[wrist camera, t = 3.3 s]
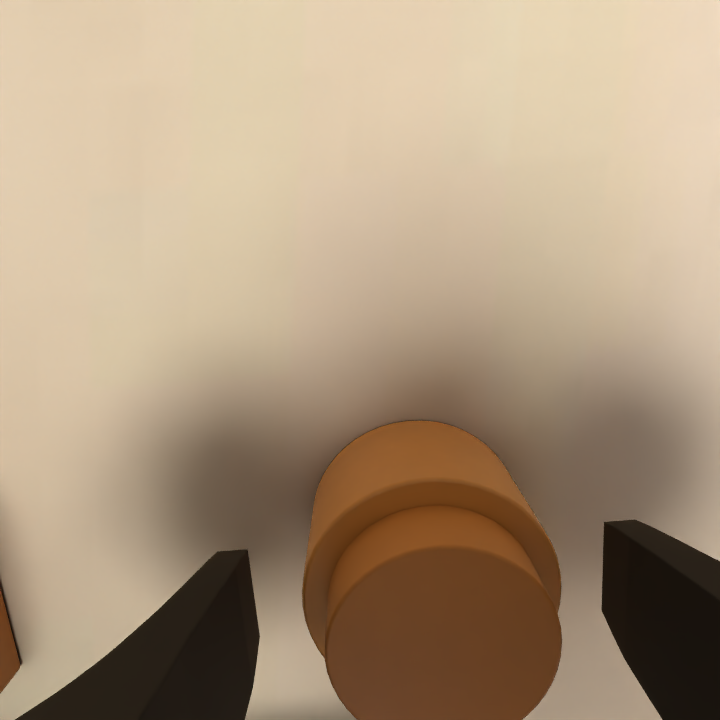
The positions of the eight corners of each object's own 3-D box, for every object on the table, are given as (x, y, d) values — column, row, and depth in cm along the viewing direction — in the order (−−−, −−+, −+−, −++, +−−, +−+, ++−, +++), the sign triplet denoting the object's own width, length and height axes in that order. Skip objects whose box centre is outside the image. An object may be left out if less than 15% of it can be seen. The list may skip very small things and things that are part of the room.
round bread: (514, 411, 13) (596, 505, 9) (517, 596, 14) (590, 762, 10) (303, 427, 13) (278, 529, 9) (323, 610, 14) (309, 782, 10)
